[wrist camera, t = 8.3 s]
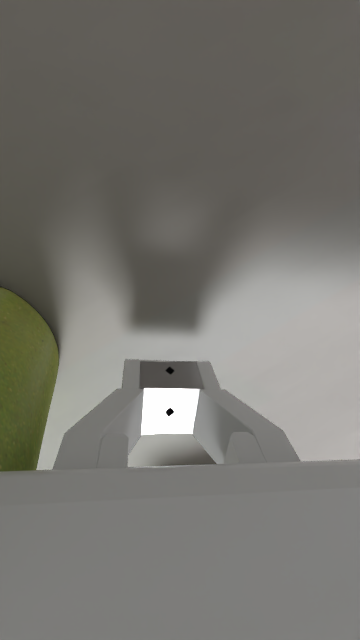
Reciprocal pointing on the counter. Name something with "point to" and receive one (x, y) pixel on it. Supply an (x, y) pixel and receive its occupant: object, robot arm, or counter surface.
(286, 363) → the counter surface
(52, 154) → the counter surface
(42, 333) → the plant pot
